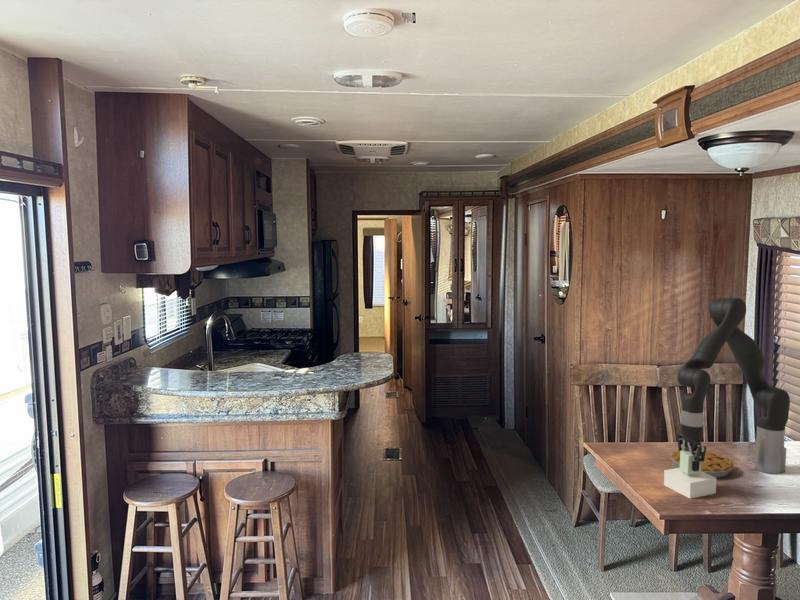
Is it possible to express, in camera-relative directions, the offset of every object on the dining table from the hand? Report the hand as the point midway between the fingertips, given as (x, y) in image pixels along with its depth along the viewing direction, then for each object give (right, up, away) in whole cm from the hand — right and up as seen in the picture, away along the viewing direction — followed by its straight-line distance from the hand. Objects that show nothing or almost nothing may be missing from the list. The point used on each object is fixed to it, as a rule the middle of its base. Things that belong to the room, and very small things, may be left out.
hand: (690, 467), depth 206 cm
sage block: (0, -2, 0) cm, 2 cm away
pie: (+14, -6, +19) cm, 25 cm away
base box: (0, -8, +1) cm, 9 cm away
